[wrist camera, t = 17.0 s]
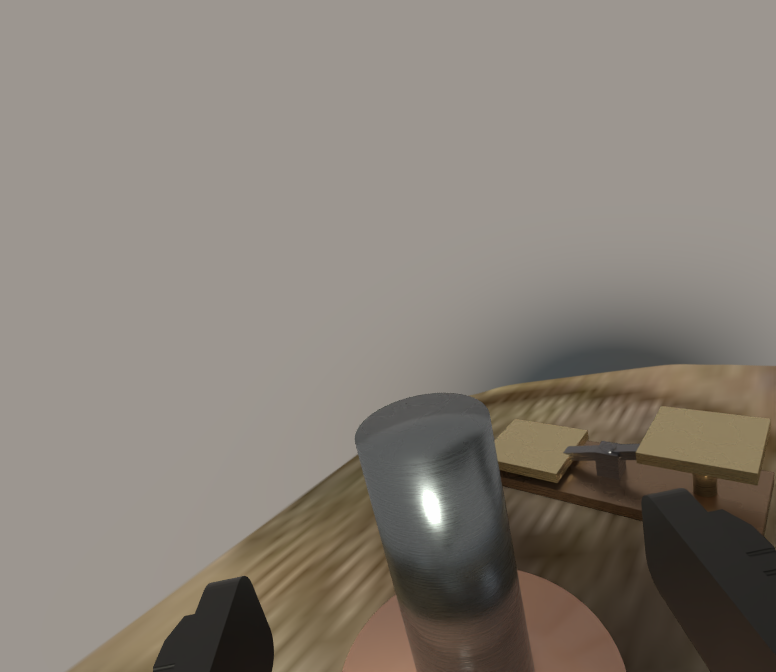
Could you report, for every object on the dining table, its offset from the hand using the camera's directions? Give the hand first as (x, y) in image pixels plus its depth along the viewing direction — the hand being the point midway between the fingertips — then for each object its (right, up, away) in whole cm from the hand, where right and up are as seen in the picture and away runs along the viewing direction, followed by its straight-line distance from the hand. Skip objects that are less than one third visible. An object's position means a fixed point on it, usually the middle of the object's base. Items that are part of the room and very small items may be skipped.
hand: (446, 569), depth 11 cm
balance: (+16, -6, +29) cm, 33 cm away
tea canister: (+3, -12, +15) cm, 20 cm away
